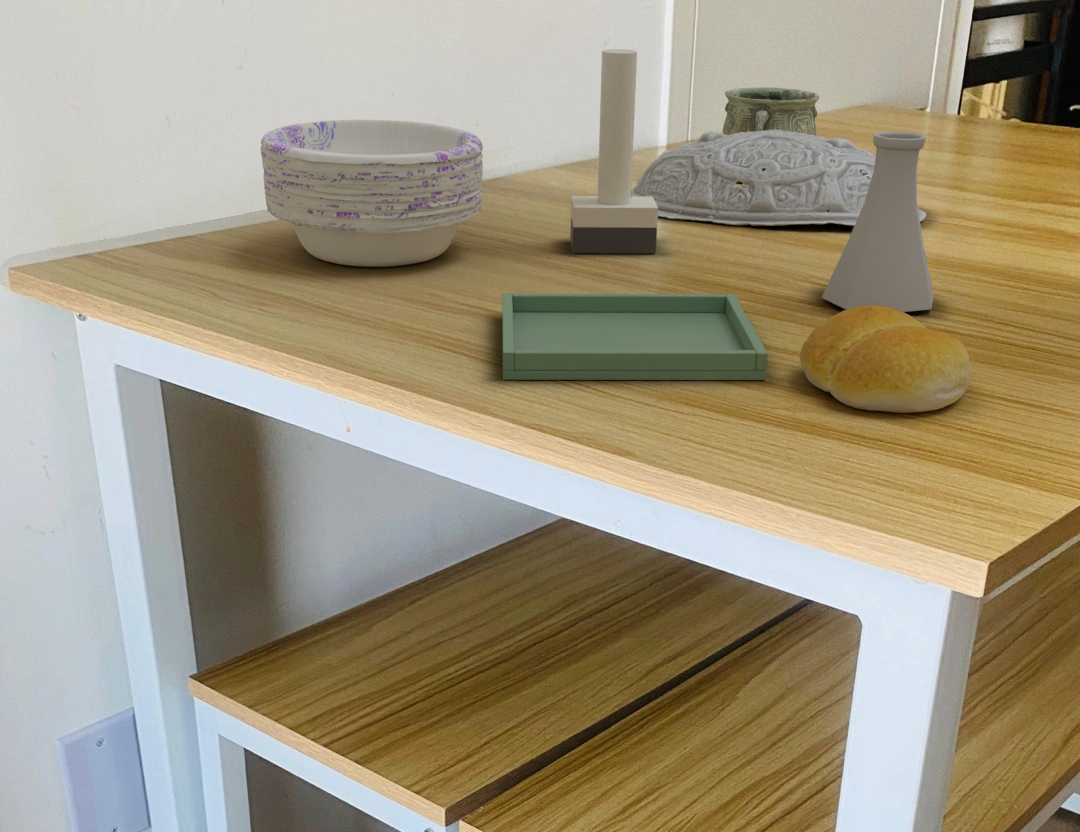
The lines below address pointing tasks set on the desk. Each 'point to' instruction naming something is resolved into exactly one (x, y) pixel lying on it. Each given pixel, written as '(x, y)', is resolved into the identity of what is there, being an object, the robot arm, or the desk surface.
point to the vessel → (770, 110)
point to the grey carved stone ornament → (761, 179)
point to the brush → (615, 173)
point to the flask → (886, 235)
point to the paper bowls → (372, 187)
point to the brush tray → (629, 337)
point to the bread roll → (885, 361)
